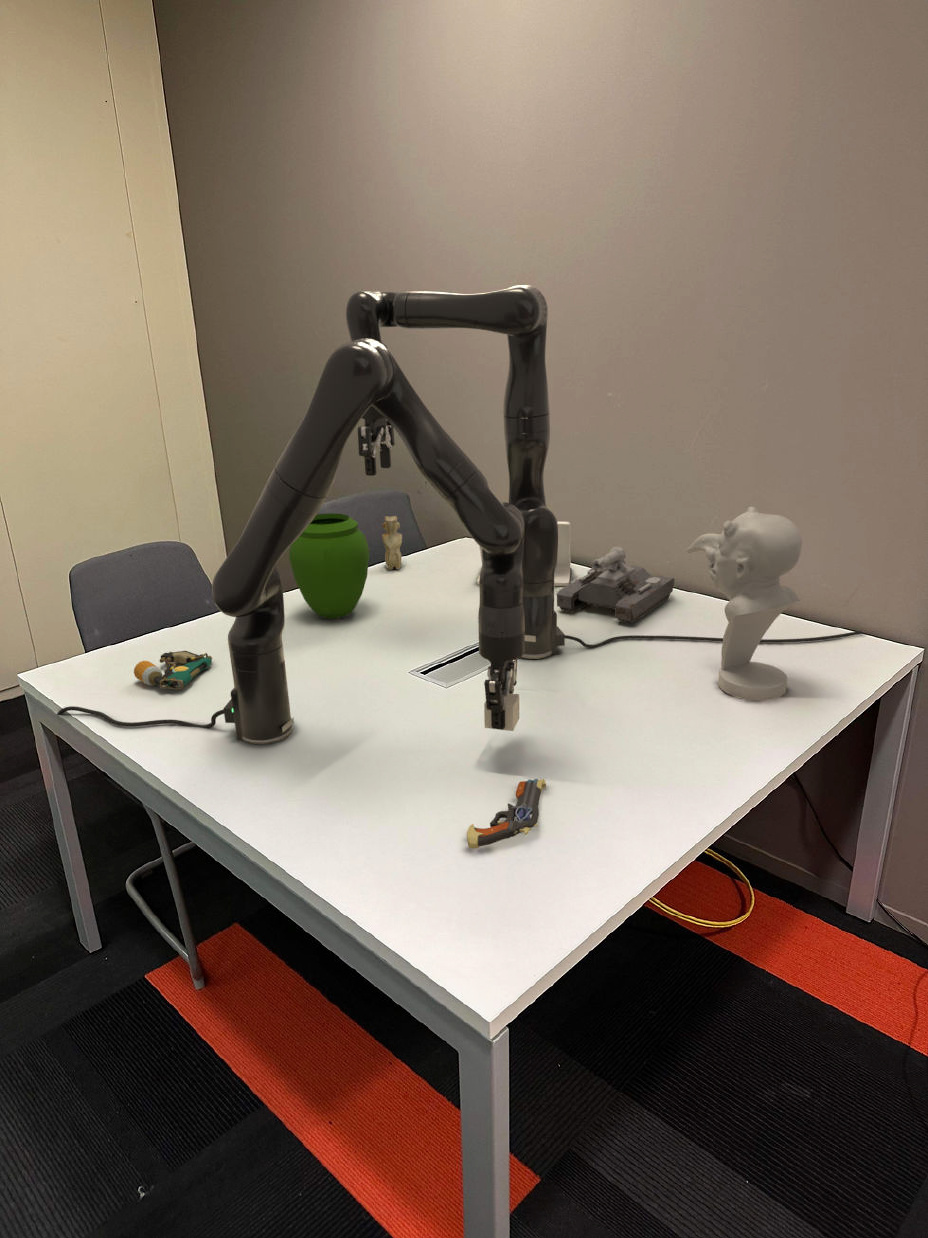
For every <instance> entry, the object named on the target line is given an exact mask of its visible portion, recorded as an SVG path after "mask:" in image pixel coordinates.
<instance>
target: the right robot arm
mask: <svg viewBox="0 0 928 1238" xmlns="http://www.w3.org/2000/svg"><path fill="white" fill-rule="evenodd" d="M548 308H549V307H548V303H547V300H546V297H545V296H544V294H543V293H542V291H541V290H539V289H538V288H537V287H535V286H533V285H529V284H522V285H521V284H519V285H512V286H510V287H508V288H505V289H500V290H495V291H489V292H483V293H453V292H444V291H429V290H428V291H421V290H418V291H417V290H416V291H414V290H413V291H411V290H410V291H409V290H407V291H401V292H394V291H377V290H376V291H375V290H371V291H370V290H369V291H366V290H362V291H355V292H354V293H353V294H351V295H350V296H349V298H348V299H347V301H346V306H345V321H346V322H345V323H346V325H347V330H348V334H349V339H350V342H351V341H354V340H357V339H361V338H368V339H373V340H376V341H378V342H380V343H381V344H383V345H384V346H385V347H386V348H387V349H388V345H387V344H386V343H385V342H384V341H382V336H381V331H380V328H401V329H408V330H446V329H448V330H449V329H471V330H480V331H485V332H486V331H487V332H492V333H498V334H502V335H506V336H507V345H508V346H507V347H508V352H509V353H508V357H509V360H508V364H509V365H508V372H507V378H506V382H505V383H506V384H505V389H504V398H503V409H502V410H503V430H504V442H505V454H506V462H507V469H508V480H509V482H508V503H510V504H512V505H514V506H515V507H516V508H517V509H518V510H519V511H520V512H521V514H522V516H523V519H524V525H525V530H524V548H523V560H522V574H523V605H524V613H525V652H524V654H523V656H522V657H520V658H521V659H525V660H526V659H527V660H540V659H545V658H548V657H550V656H552V655H557V654H558V653H557V650H558V649H557V648H558V647H564V646H565V645H566V643H565V642H566V639H567V640H571V641H575V642H578V643H579V644H580V645H581V646H583V647H584V648H587V649H595V648H599V647H602V646H605V645H606V644H609V643H611V642H613V641H616V640H617V641H618V640H633V639H634V640H635V639H638V640H681V641H682V640H683V641H684V640H685V641H707V642H723V637H707V636H682V635H641V634H639V635H635V634H633V635H631V634H630V635H617V636H613V637H610V638H607V639H605V640H603V641H601V642H600V643H596V644H588V643H586V642H584V640H582V639H581V638H579V637H576V636H574V635H573V636H571V635H567V634H565V632H563V631H562V630H561V628H560V627H559V626H558V613H557V612H556V611H555V586H554V572H555V568H556V565H557V555H558V523H557V522H558V520H557V517H556V515H555V514H554V513H553V511H551V509H549V508H548V507H547V502H546V501H547V500H546V493H545V484H544V473H545V466H546V461H547V457H548V452H549V446H550V442H551V441H550V440H551V417H550V400H549V385H548V374H547V366H546V365H547V364H546V348H547V347H546V345H547V329H548V314H549V311H548V310H549V309H548ZM388 350H389V349H388ZM361 419H363V420H364V425H362V426H357V443H358V444H357V445H358V456H359V457H362V458H363V459H364V470H365V475H366V476H369V477H371V476H372V477H374V476H376V475H377V461H376V460H377V459H376V455H377V450H378V449H379V463H380V468H381V469H390V468H391V467H392V459H391V451H392V448H393V447H394V446H395V431H394V430H395V429H394V428H393V426H392V425H391V424H390V423H389V422H388V420H387V419H386V418H385V417H384V416H383V415H382V414H381V413H380V412H378V411H377V410H376V409H375V408H374V407H373V406H370V407H369V409H368V410H367V411H366V413H365V414H364V415H363V417H362V418H361ZM361 419H360V420H361ZM862 634H863V631H862V630H856V631H852V632H846V633H841V634H840V633H839V634H833V635H826V636H816V637H815V636H814V637H803V638H781V639H780V638H779V639H777V638H776V639H775V638H773V639H770V638H768V639H767V638H766V639H765V638H762V639H761V641H760V642H759V644H762V643H764V644H767V643H769V644H774V643H775V644H776V643H782V644H783V643H802V642H804V643H805V642H817V641H824V640H826V641H827V640H835V639H840V638H846V637H852V636H857V635H862Z"/></svg>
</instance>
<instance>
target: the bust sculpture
mask: <svg viewBox="0 0 928 1238" xmlns="http://www.w3.org/2000/svg"><path fill="white" fill-rule="evenodd" d="M802 547H803V546H802V535H801V532H800V530H799V529H798V527H797V526H796V525H795V523H794V522H792V521H791V520H790V519H788V518H786V517H785V516H783V515H778V514H773V513H772V514H771V513H770V514H769V513H761V512H759V511H758V509H757V508H756V507H755V506H749V507H747V510H746V511H745V512H744V513H741V514H740V515H738V516H737V517H735V518H734V519H733V520H726V521H724V523H723V524H722V532H721V533H720V534H718V533H715V532H713V533H712V532H711V533H704V534H701V535H699V536H698V537H697V538H696V539H694V541H693V543H692V544H690V545H689V547H687V548H686V553H689V554H691V553H695V552H700V551H702V552H705V553H706V557H707V560H708V562H709V563H710V564H708V573H709V575H710V579H711V580H712V582H713V583H714V586H715V588H716V589H717V591H720V593H722V594H723V595H724V596H725V597H727V599H728V602H727V603H726V604H725V606H724V614H725V618H726V620H727V622H728V623H727V625H726V628H725V630H724V634H723V637H722V638H723V641H722V645H721V651H720V654H721V663H720V668H719V671H718V680H717V683H718V684H717V685H718V687H719V688H720V690H722V691H723V692H724V693H725V694H728V695H730V696H732V697H735V698H739V699H742V700H749V701H770V700H771V701H772V700H776V699H778V698H779V699H780V698H781V697H782V696H784V695H785V694H786V692H787V685H788V676H787V674H786V673H785V672H784V671H783V670H782V669H780V668H778V667H776V666H774V665H771V664H767V663H764V662H759V661H758V662H757V661H752V658H753V655H754V653H755V652H756V650H757V648H758V646H759V644H760V643H759V642H760V641H761V639H763V637H764V636H765V634H767V632H768V630H769V628H770V627H771V626H772V624H773V623H774V622H775V621H776V619H777V618H778V617H779V616H780V615H781V614H782V613H783V612H785V611H786V610H787V609H788V608H789V607H791V606H792V605H794V604H795V603H797V602H800V601H801V599H800V596H799V595H798V594H797V593H796V591H795V590H794V589H793V588H792V587H790V586H787V585H781V583H780V582H781V578H780V577H781V576H783V575H786V574H788V573H789V572H790V571H791V570H792V569H793V568H795V567H796V565H797V564H798V562H799V559H800V557H801V552H802Z"/></svg>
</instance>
